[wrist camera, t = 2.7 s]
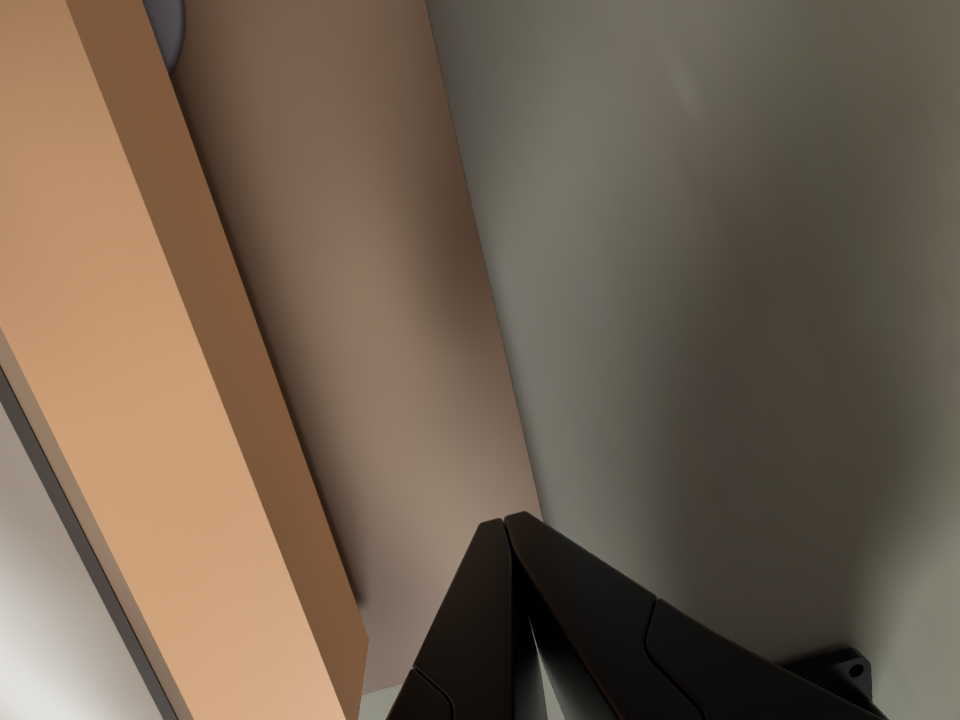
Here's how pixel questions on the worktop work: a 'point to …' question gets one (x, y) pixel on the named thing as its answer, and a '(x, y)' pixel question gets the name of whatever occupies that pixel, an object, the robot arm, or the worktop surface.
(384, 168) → the door and jamb
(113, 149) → the bar
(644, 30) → the worktop surface
